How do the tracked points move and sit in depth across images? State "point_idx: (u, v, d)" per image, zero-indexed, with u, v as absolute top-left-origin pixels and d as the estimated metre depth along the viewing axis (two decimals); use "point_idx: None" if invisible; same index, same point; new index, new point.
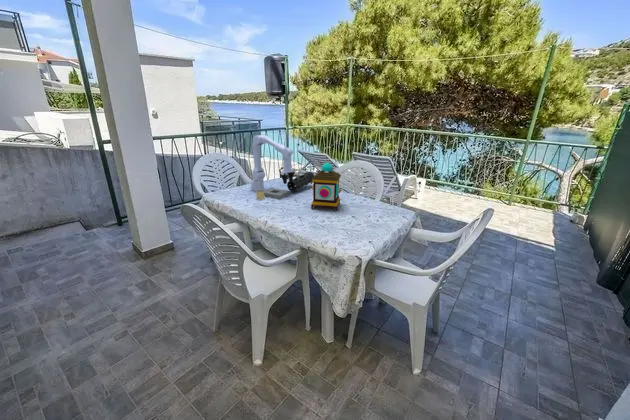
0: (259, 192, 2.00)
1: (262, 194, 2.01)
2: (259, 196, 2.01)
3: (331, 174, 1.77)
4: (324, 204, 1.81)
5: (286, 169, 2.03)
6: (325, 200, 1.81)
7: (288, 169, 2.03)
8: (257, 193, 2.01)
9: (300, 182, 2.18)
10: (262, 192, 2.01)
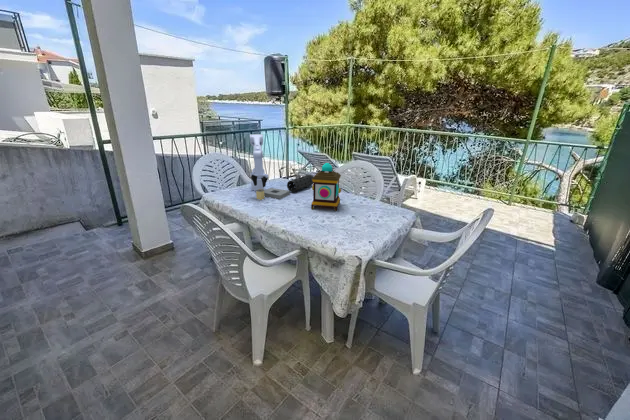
0: (259, 192, 2.00)
1: (262, 194, 2.01)
2: (259, 196, 2.01)
3: (331, 174, 1.77)
4: (324, 204, 1.81)
5: None
6: (325, 200, 1.81)
7: (255, 171, 1.96)
8: (257, 193, 2.01)
9: (300, 182, 2.19)
10: (262, 192, 2.01)
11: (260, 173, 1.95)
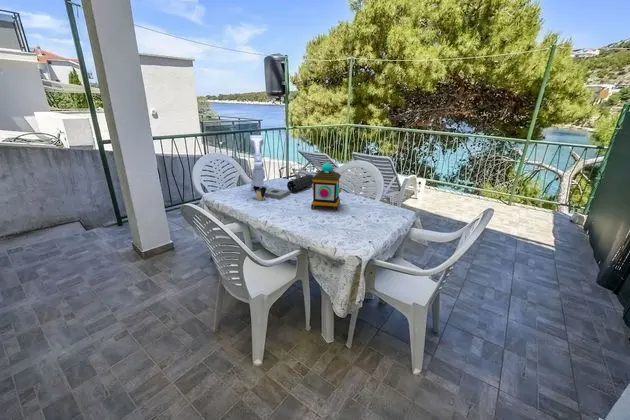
0: (259, 192, 2.00)
1: None
2: (259, 196, 2.01)
3: (331, 174, 1.77)
4: (324, 204, 1.81)
5: None
6: (325, 200, 1.81)
7: (255, 182, 1.98)
8: (257, 193, 2.01)
9: (300, 182, 2.19)
10: None
11: (261, 184, 1.97)
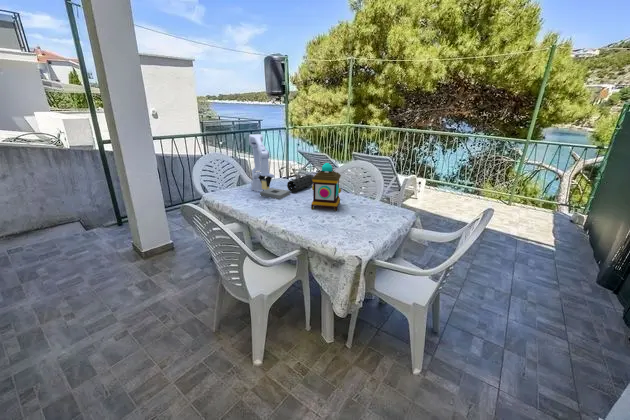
0: (264, 181, 2.01)
1: None
2: (264, 186, 2.02)
3: (331, 174, 1.77)
4: (324, 204, 1.81)
5: None
6: (325, 200, 1.81)
7: (261, 172, 2.00)
8: (262, 183, 2.02)
9: (300, 182, 2.19)
10: None
11: (266, 173, 1.98)
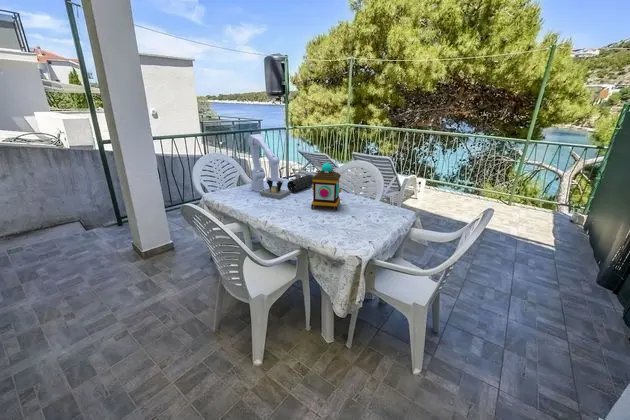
0: (274, 189, 2.09)
1: (277, 190, 2.10)
2: (274, 192, 2.10)
3: (331, 174, 1.77)
4: (324, 204, 1.81)
5: None
6: (325, 200, 1.81)
7: None
8: (272, 190, 2.10)
9: (300, 182, 2.19)
10: (277, 189, 2.10)
11: (276, 178, 2.06)
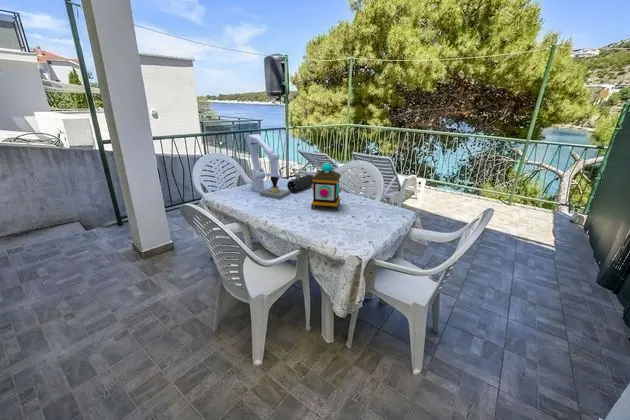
0: (274, 189, 2.09)
1: (277, 190, 2.10)
2: (274, 192, 2.10)
3: (331, 174, 1.77)
4: (324, 204, 1.81)
5: None
6: (325, 200, 1.81)
7: None
8: (272, 190, 2.10)
9: (300, 182, 2.19)
10: (277, 189, 2.10)
11: (275, 174, 2.05)
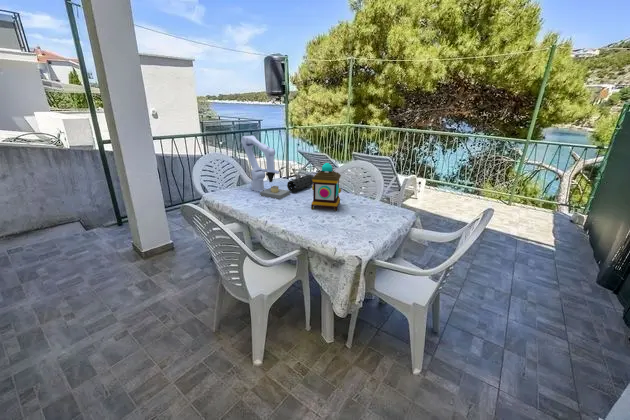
0: (274, 189, 2.09)
1: (277, 190, 2.10)
2: (274, 192, 2.10)
3: (331, 174, 1.77)
4: (324, 204, 1.81)
5: None
6: (325, 200, 1.81)
7: None
8: (272, 190, 2.10)
9: (300, 182, 2.19)
10: (277, 189, 2.10)
11: (271, 169, 2.08)
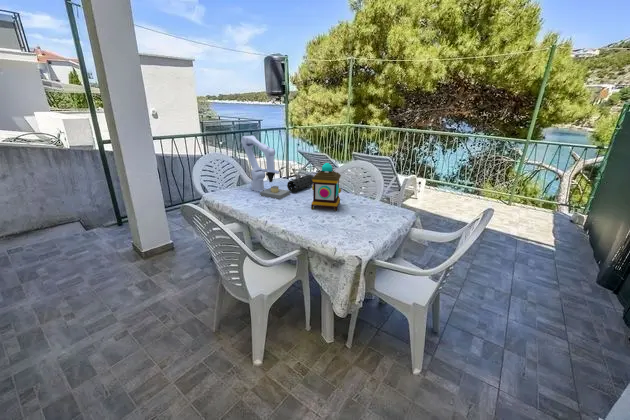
0: (274, 189, 2.09)
1: (277, 190, 2.10)
2: (274, 192, 2.10)
3: (331, 174, 1.77)
4: (324, 204, 1.81)
5: None
6: (325, 200, 1.81)
7: None
8: (272, 190, 2.10)
9: (300, 182, 2.19)
10: (277, 189, 2.10)
11: (271, 169, 2.08)
